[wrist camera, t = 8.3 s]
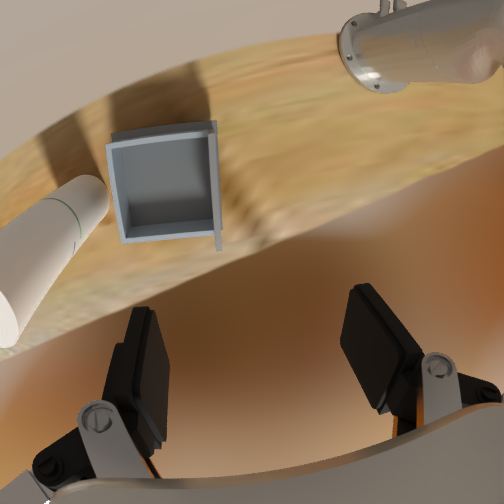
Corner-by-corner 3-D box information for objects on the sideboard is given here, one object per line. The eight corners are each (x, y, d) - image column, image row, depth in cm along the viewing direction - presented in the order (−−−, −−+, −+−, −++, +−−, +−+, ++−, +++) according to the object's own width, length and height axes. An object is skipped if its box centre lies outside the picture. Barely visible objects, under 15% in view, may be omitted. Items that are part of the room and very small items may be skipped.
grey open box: (215, 119, 34) (219, 122, 23) (220, 217, 40) (226, 258, 29) (121, 130, 32) (87, 140, 22) (134, 225, 38) (111, 268, 28)
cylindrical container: (60, 213, 36) (-43, 323, 14) (72, 167, 33) (-54, 250, 11) (102, 230, 38) (21, 361, 16) (116, 184, 36) (17, 291, 14)
